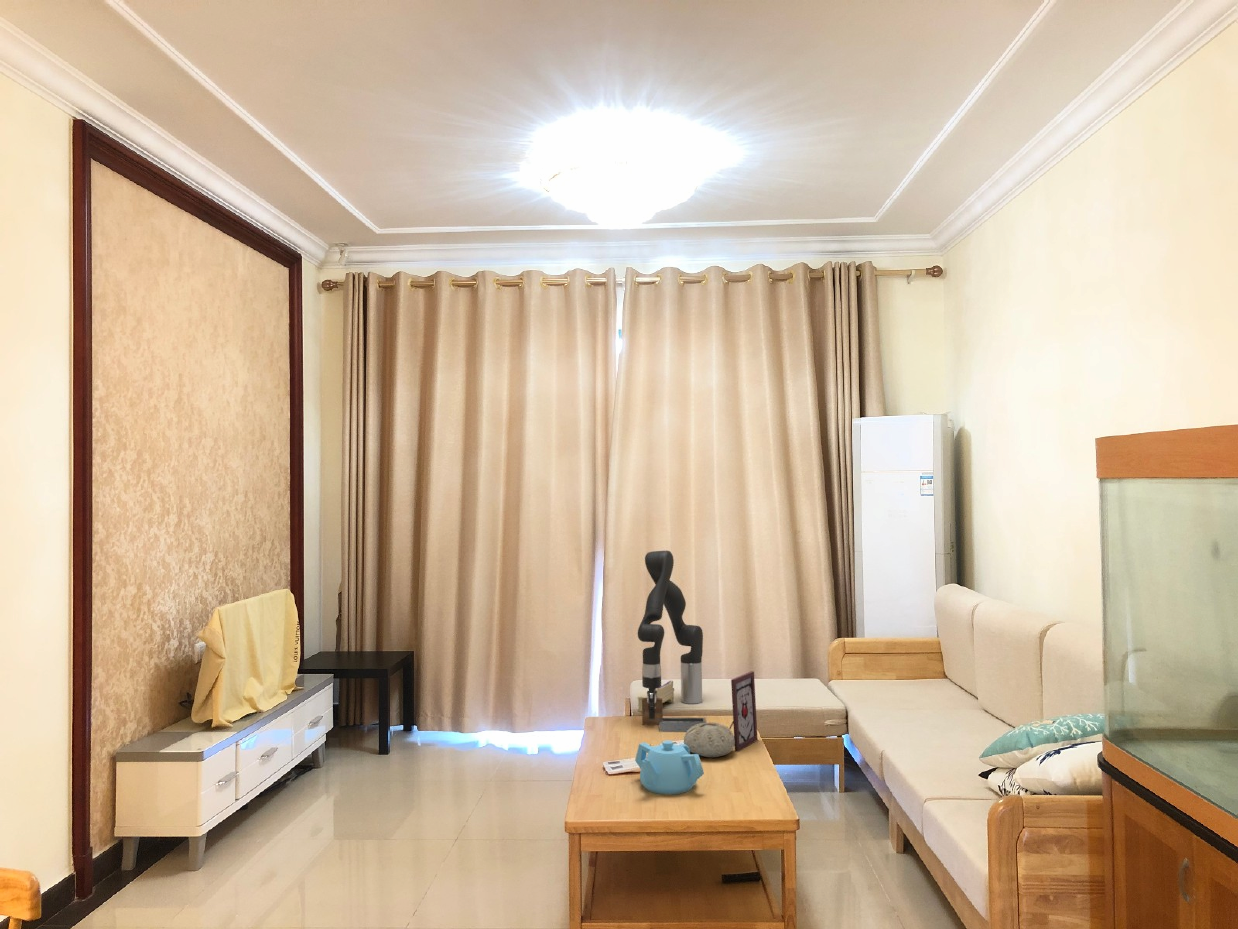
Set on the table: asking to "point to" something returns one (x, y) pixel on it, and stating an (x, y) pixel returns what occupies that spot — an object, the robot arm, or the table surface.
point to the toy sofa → (661, 694)
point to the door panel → (646, 712)
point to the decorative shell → (709, 739)
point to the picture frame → (744, 710)
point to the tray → (679, 724)
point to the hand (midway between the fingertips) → (652, 716)
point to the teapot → (668, 767)
